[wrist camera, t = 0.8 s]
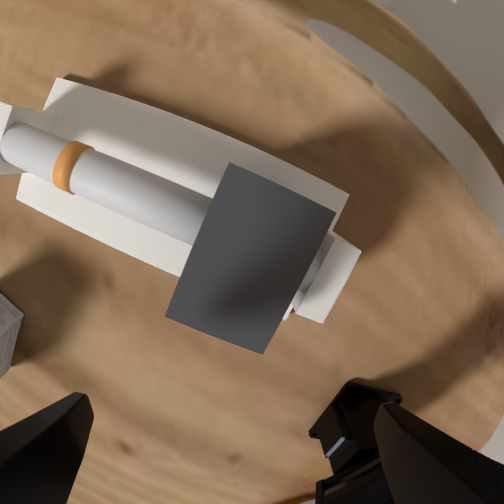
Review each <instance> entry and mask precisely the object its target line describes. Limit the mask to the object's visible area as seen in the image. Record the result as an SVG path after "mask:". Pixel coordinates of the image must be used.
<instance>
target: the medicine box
mask: <svg viewBox="0 0 504 504" xmlns="http://www.w3.org/2000/svg"><path fill="white" fill-rule="evenodd" d="M23 316H24V314H23V313H22V312H21V311H20V310H18V309H17V308H16V307H15V306H14V305H13V304H12V303H11V302H10V301H9V300H8V299H6V298H5V297H4V296H3V295H2V294H1V293H0V379H1V377H2V376H3V375H4V374H5V373H6V372H7V371H8V370H9V368H10V365H11V360H12V356H13V352H14V348H15V344H16V340H17V336H18V333H19V329H20V325H21V322H22V319H23Z"/></svg>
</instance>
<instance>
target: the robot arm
mask: <svg viewBox="0 0 504 504" xmlns="http://www.w3.org/2000/svg"><path fill="white" fill-rule="evenodd" d="M348 388H350V389H348ZM402 400H403V398H402V396H401V395H400V394H396V393H391V392H387V391H383V390H379V389H375V388H371V387H367V386H364V385H360V384H356V383H352V382H349V383H346V384H345V385H344V386H343V387H342V389H341V390H340V392H339V393H338V394H337V396H336V397H335V398H334V400H333V401H332V402H331V403H330V404H329V406H328V407H327V408H326V410H325V411H324V412H323V413H322V415H321V416H320V417H319V419H318V420H317V421H316V423H315V424H314V425H313V426H312V428H311V429H310V430H309V436H310V437H311V438H315V439H320V441H321V445H322V448H323V452H324V455H325V457H326V458H329V461H330V464H331V468H332V471H333V476H331V477H329V478H326V479H324V480H323V479H322V480H320V481H318V482H316V501H315V504H504V465H503V464H501V463H499V462H497V461H494V460H492V459H490V458H488V457H486V456H484V455H483V454H481V453H479V452H477V451H475V450H473V449H472V448H470V447H468V446H466V445H465V444H463V443H461V442H459V441H458V440H456V439H454V438H452V437H451V436H449V435H447V434H446V433H444V432H442V431H440V430H439V429H437V428H435V427H434V426H432V425H430V424H429V423H427V422H425V421H424V420H422V419H420V418H419V417H417V416H415V415H414V414H412V413H411V412H409V411H407V410H406V409H404V408H402V407H401V406H399V405H400V403H401V402H402ZM93 420H94V413H93V410H92V407H91V404H90V401H89V398H88V396H87V395H86V394H83V393H79V392H74V393H72V394H70V395H68V396H67V397H65V398H63V399H61V400H59V401H57V402H55V403H53V404H52V405H50V406H48V407H46V408H44V409H42V410H40V411H38V412H37V413H35V414H33V415H31V416H29V417H27V418H25V419H23V420H21V421H19V422H17V423H15V424H13V425H11V426H9V427H7V428H6V429H4V430H2V431H0V504H66V503H67V500H68V497H69V495H70V492H71V489H72V486H73V484H74V481H75V478H76V475H77V473H78V470H79V468H80V465H81V462H82V460H83V457H84V453H85V450H86V446H87V442H88V438H89V434H90V431H91V427H92V423H93Z"/></svg>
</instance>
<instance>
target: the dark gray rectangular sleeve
mask: <svg viewBox="0 0 504 504" xmlns="http://www.w3.org/2000/svg"><path fill="white" fill-rule="evenodd" d="M335 215H336V212H334V211H332V210H330V209H328V208H326V207H324V206H322V205H320V204H318V203H316V202H314V201H312V200H310V199H308V198H306V197H304V196H302V195H300V194H298V193H296V192H294V191H292V190H290V189H288V188H286V187H283V186H281V185H279V184H277V183H275V182H273V181H271V180H268V179H266V178H264V177H262V176H260V175H257V174H255V173H253V172H251V171H249V170H246V169H244V168H242V167H240V166H237V165H235V164H233V163H230V162H229V164H228V166H227V168H226V170H225V172H224V175H223V177H222V179H221V181H220V184H219V186H218V188H217V190H216V193H215V195H214V197H213V199H212V202H211V204H210V206H209V209H208V211H207V213H206V215H205V218H204V220H203V222H202V225H201V227H200V230H199V232H198V234H197V237H196V239H195V242H194V244H193V246H192V249H191V251H190V254H189V256H188V259H187V261H186V263H185V266H184V268H183V271H182V273H181V276H180V279H179V281H178V284H177V286H176V289H175V291H174V294H173V296H172V299H171V302H170V304H169V307H168V310H167V312H166V315H165V317H167V318H170V319H172V320H175V321H177V322H179V323H182V324H184V325H187V326H189V327H191V328H194V329H196V330H199V331H201V332H204V333H206V334H209V335H211V336H214V337H217V338H219V339H222V340H224V341H227V342H230V343H232V344H235V345H238V346H241V347H243V348H246V349H249V350H252V351H254V352H257V353H260V354H263V353H264V351H265V349H266V347H267V346H268V344H269V342H270V340H271V338H272V337H273V335H274V333H275V331H276V329H277V328H278V326H279V324H280V322H281V320H282V318H283V317H284V315H285V313H286V311H287V309H288V307H289V306H290V304H291V302H292V300H293V298H294V296H295V294H296V292H297V290H298V289H299V287H300V285H301V283H302V281H303V279H304V277H305V275H306V273H307V271H308V269H309V267H310V265H311V263H312V262H313V260H314V258H315V256H316V254H317V252H318V250H319V248H320V246H321V244H322V242H323V240H324V238H325V236H326V234H327V232H328V230H329V227H330V225H331V223H332V221H333V219H334V217H335Z"/></svg>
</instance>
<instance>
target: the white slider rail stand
mask: <svg viewBox="0 0 504 504" xmlns="http://www.w3.org/2000/svg"><path fill="white" fill-rule="evenodd" d="M229 162H230V163H233V164H235V165H237V166H240V167H242V168H244V169H246V170H249V171H251V172H253V173H255V174H257V175H260V176H262V177H264V178H266V179H268V180H271V181H273V182H275V183H277V184H279V185H281V186H283V187H286V188H288V189H290V190H292V191H294V192H296V193H298V194H300V195H302V196H304V197H306V198H308V199H310V200H312V201H314V202H316V203H318V204H320V205H322V206H324V207H326V208H328V209H330V210H332V211H334V212H336V215H335V217H334V219H333V221H332V223H331V225H330V227H329V230H328V232H327V234H326V236H325V238H324V240H323V242H322V244H321V246H320V248H319V250H318V252H317V254H316V256H315V258H314V260H313V262H312V263H311V265H310V267H309V269H308V271H307V273H306V275H305V277H304V279H303V281H302V283H301V285H300V287H299V289H298V290H297V292H296V294H295V296H294V298H293V300H292V302H291V304H290V306H289V307H288V309H287V311H286V313H285V315H284V317H283V318H282V319H284V320H286V319H287V317H288V315H289V314H290V312H291V310H292V308H294V310H295V313H296V314H298V315H301V316H303V317H306V318H308V319H311V320H314V321H316V322H319V323H322V324H323V322H324V320H325V318H326V317H327V315H328V313H329V311H330V310H331V308H332V306H333V304H334V303H335V301H336V299H337V297H338V295H339V294H340V292H341V290H342V288H343V286H344V284H345V283H346V281H347V279H348V277H349V275H350V273H351V271H352V269H353V268H354V266H355V264H356V262H357V260H358V258H359V256H360V254H361V252H362V251H361V250H359V249H358V248H356V247H355V246H354V245H352V244H351V243H349V242H348V241H346V240H345V239H343V238H342V237H340V236H339V235H338V234H336V233H335V232H333V231H332V230H333V228H334V226H335V224H336V222H337V220H338V218H339V216H340V214H341V212H342V210H343V208H344V206H345V204H346V201H347V199H348V197H349V195H350V194H348V193H346V192H344V191H342V190H340V189H339V188H337V187H335V186H333V185H331V184H329V183H327V182H325V181H323V180H321V179H319V178H317V177H315V176H313V175H311V174H309V173H307V172H305V171H303V170H301V169H299V168H297V167H295V166H293V165H291V164H289V163H287V162H285V161H283V160H281V159H279V158H276V157H274V156H272V155H270V154H268V153H266V152H264V151H261V150H259V149H257V148H255V147H252V146H250V145H248V144H246V143H243V142H241V141H239V140H237V139H234V138H232V137H230V136H227V135H225V134H222V133H220V132H218V131H215V130H213V129H210V128H208V127H205V126H203V125H200V124H198V123H195V122H193V121H190V120H188V119H185V118H182V117H180V116H177V115H174V114H172V113H169V112H166V111H164V110H161V109H158V108H155V107H152V106H150V105H147V104H144V103H141V102H138V101H135V100H132V99H129V98H126V97H123V96H120V95H117V94H113V93H110V92H107V91H104V90H100V89H97V88H94V87H90V86H87V85H83V84H80V83H76V82H72V81H69V80H65V79H61V78H56V81H55V83H54V85H53V87H52V90H51V92H50V94H49V97H48V99H47V101H46V104H45V106H44V109H43V111H41V110H36V109H32V108H27V107H23V106H18V105H14V104H9V103H4V102H0V175H7V174H18V173H22V176H21V180H20V184H19V188H18V192H17V196H16V199H17V200H19V201H21V202H23V203H25V204H27V205H29V206H31V207H32V208H34V209H36V210H38V211H40V212H42V213H44V214H46V215H48V216H50V217H52V218H54V219H56V220H58V221H60V222H62V223H64V224H66V225H68V226H70V227H72V228H74V229H76V230H78V231H80V232H82V233H84V234H86V235H88V236H90V237H93V238H95V239H97V240H99V241H101V242H103V243H105V244H107V245H109V246H112V247H114V248H116V249H118V250H120V251H122V252H124V253H127V254H129V255H131V256H133V257H135V258H138V259H140V260H142V261H144V262H146V263H149V264H151V265H153V266H155V267H158V268H160V269H162V270H164V271H167V272H169V273H171V274H174V275H176V276H178V277H180V276H181V273H182V271H183V268H184V266H185V263H186V261H187V259H188V256H189V254H190V251H191V249H192V246H193V244H194V242H195V239H196V237H197V234H198V232H199V230H200V227H201V225H202V222H203V220H204V218H205V215H206V213H207V211H208V209H209V206H210V204H211V202H212V199H213V197H214V195H215V193H216V190H217V188H218V186H219V184H220V181H221V179H222V177H223V175H224V172H225V170H226V168H227V166H228V164H229Z"/></svg>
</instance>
